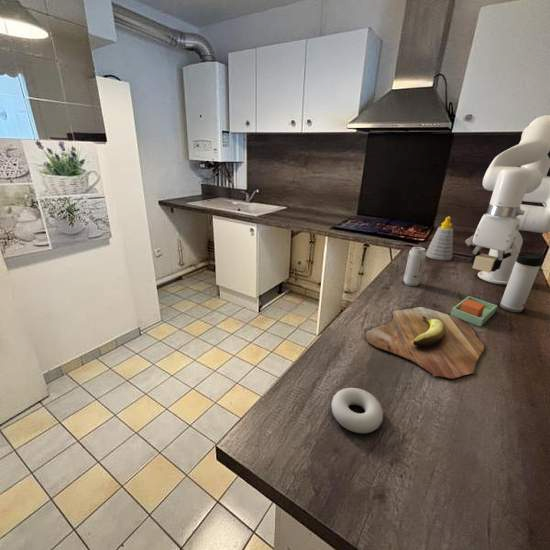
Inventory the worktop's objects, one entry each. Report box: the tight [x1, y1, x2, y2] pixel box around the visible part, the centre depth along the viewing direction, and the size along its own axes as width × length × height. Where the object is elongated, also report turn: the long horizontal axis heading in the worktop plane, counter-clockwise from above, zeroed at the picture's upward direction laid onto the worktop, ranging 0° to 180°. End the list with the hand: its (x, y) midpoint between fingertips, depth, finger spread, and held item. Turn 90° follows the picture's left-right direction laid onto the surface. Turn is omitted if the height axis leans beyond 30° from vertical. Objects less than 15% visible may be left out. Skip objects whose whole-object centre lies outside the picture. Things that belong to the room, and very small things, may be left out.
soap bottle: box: [425, 215, 454, 262], centre depth 147 cm, size 12×12×20 cm
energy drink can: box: [403, 246, 427, 287], centre depth 116 cm, size 6×6×15 cm
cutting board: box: [365, 306, 485, 380], centre depth 84 cm, size 35×27×4 cm
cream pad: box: [471, 253, 497, 273], centre depth 94 cm, size 6×5×4 cm
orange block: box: [460, 299, 485, 317], centre depth 94 cm, size 6×5×4 cm
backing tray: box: [450, 295, 498, 327], centre depth 96 cm, size 14×9×3 cm, turn 130°
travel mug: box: [499, 252, 546, 313], centre depth 97 cm, size 6×7×20 cm
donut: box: [330, 387, 384, 434], centre depth 58 cm, size 10×4×10 cm
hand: (484, 267), depth 95 cm, fingers closed on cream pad, 5 cm apart
